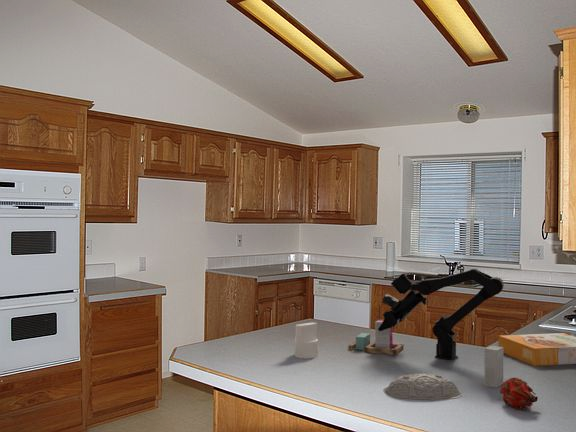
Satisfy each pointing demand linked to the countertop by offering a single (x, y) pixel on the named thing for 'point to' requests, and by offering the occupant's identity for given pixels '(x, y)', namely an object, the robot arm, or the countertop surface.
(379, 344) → the supplement box
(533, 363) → the cereal box
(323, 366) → the countertop surface
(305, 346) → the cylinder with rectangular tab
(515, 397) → the dragon fruit
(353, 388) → the countertop surface
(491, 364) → the skincare box
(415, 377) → the grey oval domed piece
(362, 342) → the wing block
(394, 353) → the cradle
